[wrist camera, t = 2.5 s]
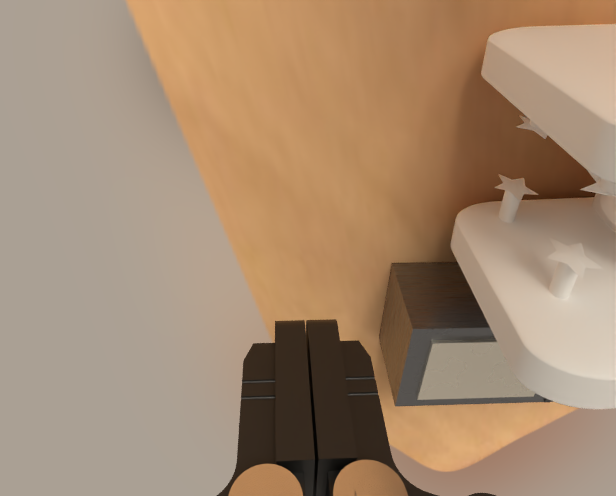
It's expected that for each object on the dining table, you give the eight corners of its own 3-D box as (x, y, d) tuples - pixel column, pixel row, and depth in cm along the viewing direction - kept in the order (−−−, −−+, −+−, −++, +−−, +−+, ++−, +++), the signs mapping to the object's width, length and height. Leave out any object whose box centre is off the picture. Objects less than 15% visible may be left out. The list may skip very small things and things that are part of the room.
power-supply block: (391, 263, 26) (413, 332, 22) (682, 259, 28) (755, 325, 23) (379, 337, 30) (395, 409, 26) (636, 332, 31) (693, 400, 27)
